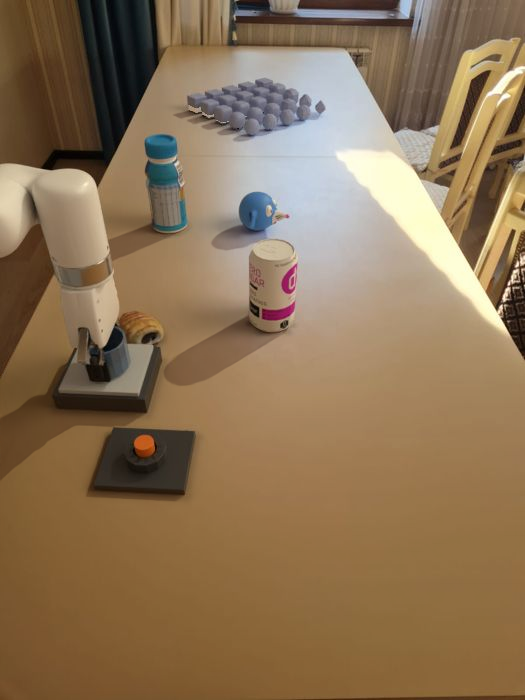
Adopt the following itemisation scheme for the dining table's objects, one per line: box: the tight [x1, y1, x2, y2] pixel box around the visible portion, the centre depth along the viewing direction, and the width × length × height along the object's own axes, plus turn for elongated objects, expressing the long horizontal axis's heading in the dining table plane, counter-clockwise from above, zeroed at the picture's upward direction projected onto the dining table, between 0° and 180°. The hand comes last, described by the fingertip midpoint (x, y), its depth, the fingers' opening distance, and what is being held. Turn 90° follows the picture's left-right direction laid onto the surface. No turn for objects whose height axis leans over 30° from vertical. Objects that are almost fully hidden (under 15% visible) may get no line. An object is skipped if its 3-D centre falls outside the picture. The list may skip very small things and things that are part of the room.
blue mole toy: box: [238, 191, 291, 232], centre depth 122 cm, size 12×12×8 cm
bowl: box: [85, 326, 131, 378], centre depth 82 cm, size 7×7×6 cm
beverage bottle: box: [143, 133, 188, 234], centre depth 119 cm, size 8×8×20 cm
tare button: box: [134, 435, 155, 458], centre depth 73 cm, size 3×3×2 cm
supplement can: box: [248, 238, 299, 333], centre depth 95 cm, size 8×8×15 cm
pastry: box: [119, 310, 165, 345], centre depth 95 cm, size 9×7×4 cm
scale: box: [51, 343, 163, 414], centre depth 85 cm, size 14×12×4 cm
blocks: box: [186, 77, 327, 136], centre depth 184 cm, size 35×34×5 cm
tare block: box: [93, 426, 197, 496], centre depth 74 cm, size 12×10×3 cm
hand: (107, 362), depth 84 cm, fingers closed on bowl, 6 cm apart
